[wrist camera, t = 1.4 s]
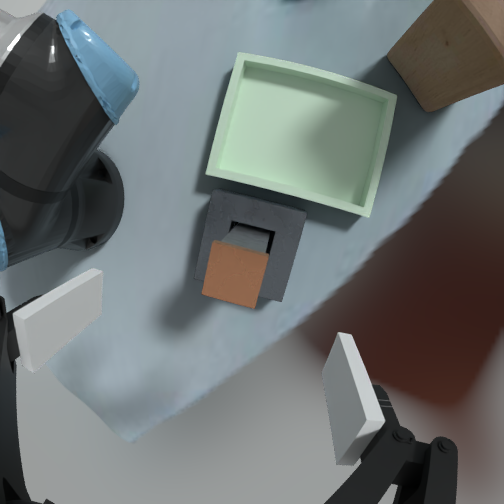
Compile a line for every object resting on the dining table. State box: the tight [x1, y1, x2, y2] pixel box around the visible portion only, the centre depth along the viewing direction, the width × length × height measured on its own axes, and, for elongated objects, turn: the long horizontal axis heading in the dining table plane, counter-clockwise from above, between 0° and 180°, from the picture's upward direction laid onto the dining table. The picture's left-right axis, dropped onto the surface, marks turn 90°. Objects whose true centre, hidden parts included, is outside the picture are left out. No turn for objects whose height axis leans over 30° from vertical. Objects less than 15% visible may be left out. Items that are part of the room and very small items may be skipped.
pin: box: [202, 222, 270, 309], centre depth 32 cm, size 5×5×15 cm
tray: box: [206, 52, 397, 218], centre depth 34 cm, size 20×16×3 cm
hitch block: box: [194, 189, 307, 302], centre depth 37 cm, size 11×11×4 cm
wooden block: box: [387, 0, 504, 112], centre depth 22 cm, size 10×10×20 cm
